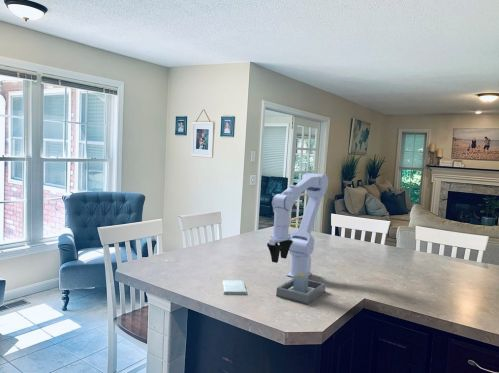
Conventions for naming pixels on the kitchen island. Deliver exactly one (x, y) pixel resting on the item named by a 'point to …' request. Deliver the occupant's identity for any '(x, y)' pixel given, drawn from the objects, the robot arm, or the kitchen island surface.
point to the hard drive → (234, 287)
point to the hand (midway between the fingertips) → (279, 260)
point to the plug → (301, 283)
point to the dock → (313, 292)
